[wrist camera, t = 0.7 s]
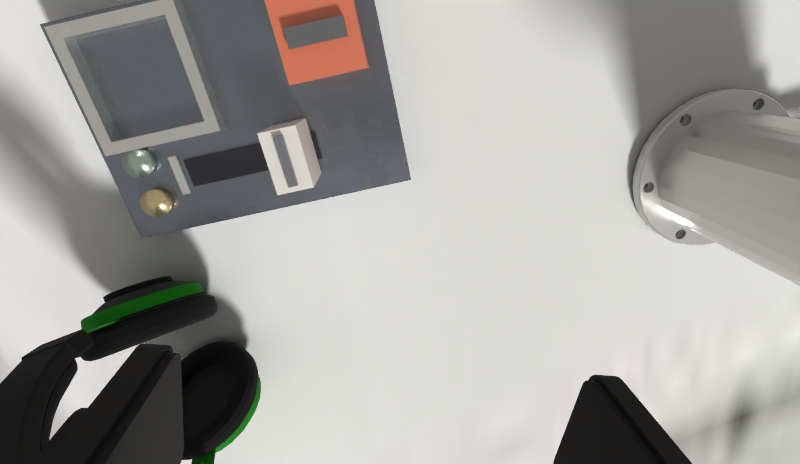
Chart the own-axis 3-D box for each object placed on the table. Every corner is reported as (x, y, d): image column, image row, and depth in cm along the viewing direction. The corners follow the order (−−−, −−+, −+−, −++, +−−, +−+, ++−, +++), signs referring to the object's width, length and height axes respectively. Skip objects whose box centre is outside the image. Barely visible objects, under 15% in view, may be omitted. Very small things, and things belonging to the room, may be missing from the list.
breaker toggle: (305, 117, 29) (294, 125, 25) (321, 172, 31) (313, 188, 27) (272, 125, 29) (255, 134, 25) (289, 179, 31) (276, 196, 27)
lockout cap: (352, -7, 27) (346, -26, 21) (369, 67, 28) (367, 67, 23) (284, 9, 27) (260, -7, 21) (304, 82, 29) (287, 85, 23)
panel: (364, -44, 28) (363, -57, 25) (408, 173, 33) (412, 183, 30) (62, 27, 28) (25, 22, 25) (154, 229, 34) (133, 244, 31)
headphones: (202, 237, 34) (-2, 436, 16) (288, 377, 40) (212, 646, 21) (102, 276, 35) (-203, 510, 17) (201, 408, 41) (53, 694, 22)
